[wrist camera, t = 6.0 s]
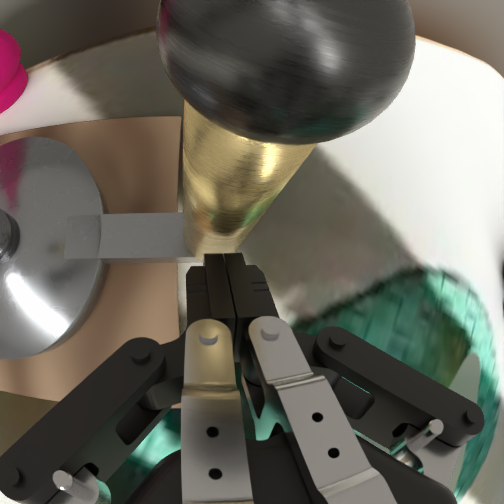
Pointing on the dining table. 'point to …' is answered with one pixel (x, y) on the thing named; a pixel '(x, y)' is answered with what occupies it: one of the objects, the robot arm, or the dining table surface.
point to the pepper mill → (10, 71)
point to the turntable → (196, 149)
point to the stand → (119, 274)
